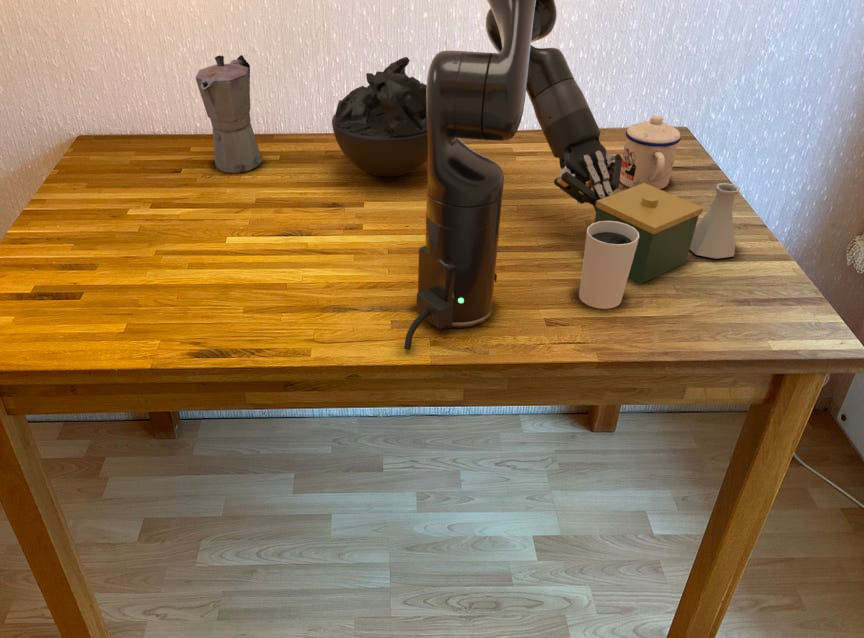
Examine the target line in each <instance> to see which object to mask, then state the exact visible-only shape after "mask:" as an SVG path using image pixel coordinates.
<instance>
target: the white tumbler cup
mask: <svg viewBox="0 0 864 638" xmlns="http://www.w3.org/2000/svg"><path fill="white" fill-rule="evenodd" d="M638 240H639V232H638V231H637V230H636V229H635V228H633V227H631V226H629V225H627V224H624V223H620V222H615V221H600V222H596V223H595V222H592V223H591V224H590V225H589V226H588V227H587V228H586V236H585V244H584V251H583V260H582V267H581V273H580V274H581V275H580V284H579V290H578V291H579V292H578V298H579V299H580V301H581V302H582V303H583V304H585V305H587V306H588V307H592V308H595V309H602V310H605V309H606V310H607V309H614V308H616V307H618V306H619V305H620V304H621V303H622V300H623V297H624V293H625V289H626V286H627V282H628V279H629V277H628V276H629V272H630V269H631V265H632V261H633V258H634V254H635V251H636V247H637V244H638Z"/></svg>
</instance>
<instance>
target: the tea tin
mask: <svg viewBox="0 0 864 638" xmlns="http://www.w3.org/2000/svg"><path fill="white" fill-rule="evenodd" d="M595 207H597V212H596V211H595V218H594V223H596V222H600V221H615V222H620V223H624V224H627V225H629V226H631V227H633V228H635V229H636V230H637V231H638V232H639V240H638V244H637V247H636V251H635V254H634V258H633V261H632V265H631V269H630V272H629V276H628V279H631V280H633V281H635V282H637V283H639V284H641V285H642V284H644V283H646V282H649V281H650V280H652V279H654V278H656V277H659V276H661V275H663V274H666V273H668V272H670V271H672V270H674V269H676V268H678V267H681V266H682V265H685V264H686V263H687V259H688V257H689V254H690V246H691V242H692V238H693V235H694V231H695V228H696V226H697V225H698V220H699V217H700V215H702V214H703V211H704V210H703V209H704V207H702V206H700V205H697V204H696V203H693V202H690V201H688V200H685V199H683V198H681V197H679V196H677V195H674V194H671V193H670V192H667V191H666V190H665V191H664V190H662V189H658V188H655V187H653V186H651V185H648V184H646V183H642V184H640V185H637V186H634V187H632V188H630V187H628V188H627V189H624V190H621V191H618V192H616V193H613V194H612V195H610V196H608V197H605V198H602V199H600V200H597V201H596V206H595Z"/></svg>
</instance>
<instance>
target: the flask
mask: <svg viewBox="0 0 864 638" xmlns="http://www.w3.org/2000/svg"><path fill="white" fill-rule="evenodd" d="M715 191H716V192H715V193H716V194H715V197H714V199H713V201H712V203H711V205H710V207H709V208H708V210H707V211H706V213H705V214H704V215H703V217H701V218H702V219H700V221H699V223H697V224H696V228H695V231H694V235H693V238H692V242H691V246H690V249H689V251H691V252H692V253H693V254H695V255H696V256H701V257H705V258H709V259H715V260H717V259H724V258H725V259H726V258H731V257H734V256H735V251H736V250H735V249H736V243H735V242H736V241H735V232H734V223H733V222H734V221H733V220H734V219H733V209H734V201H735V198H736V196H737V195H738V194H739V191H740V187H739V186H737V185H736V184H735V183H729V182H720V183H716V187H715Z"/></svg>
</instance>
